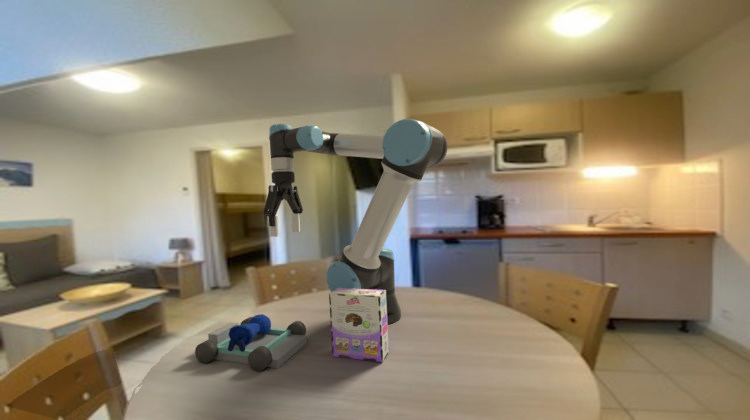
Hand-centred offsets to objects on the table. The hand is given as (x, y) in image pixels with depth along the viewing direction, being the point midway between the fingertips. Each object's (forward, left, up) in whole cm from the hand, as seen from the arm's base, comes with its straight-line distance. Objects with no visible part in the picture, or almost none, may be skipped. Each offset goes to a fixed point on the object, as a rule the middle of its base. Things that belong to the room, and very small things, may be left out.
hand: (285, 234), depth 111 cm
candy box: (-33, +20, -29) cm, 48 cm away
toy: (-4, +24, -26) cm, 35 cm away
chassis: (-4, +24, -29) cm, 37 cm away
